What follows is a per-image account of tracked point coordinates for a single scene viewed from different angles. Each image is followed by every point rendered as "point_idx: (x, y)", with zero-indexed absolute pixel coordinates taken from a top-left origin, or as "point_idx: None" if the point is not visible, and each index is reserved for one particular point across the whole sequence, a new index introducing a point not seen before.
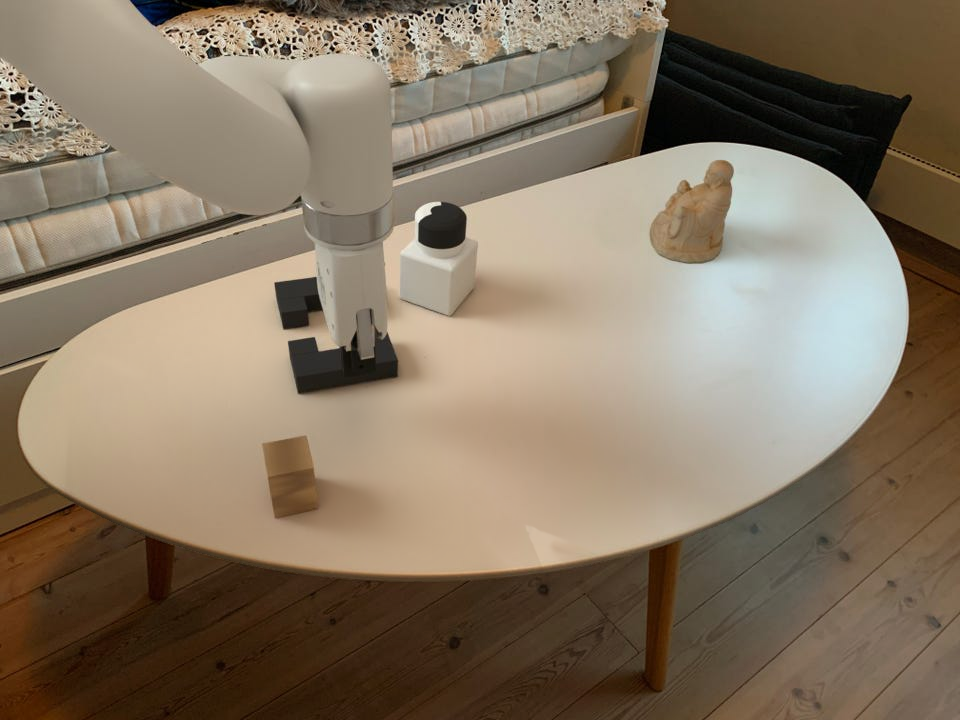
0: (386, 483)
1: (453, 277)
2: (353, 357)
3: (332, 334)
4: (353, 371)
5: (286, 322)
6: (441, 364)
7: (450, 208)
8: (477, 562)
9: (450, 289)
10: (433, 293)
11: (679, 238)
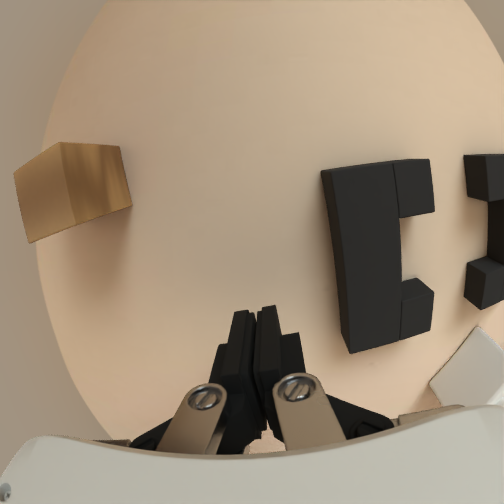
0: (131, 306)
1: None
2: (211, 380)
3: (33, 460)
4: (219, 346)
5: (472, 161)
6: (352, 381)
7: None
8: (70, 366)
9: None
10: (457, 382)
11: None
